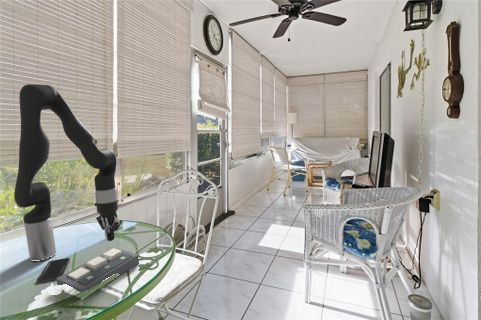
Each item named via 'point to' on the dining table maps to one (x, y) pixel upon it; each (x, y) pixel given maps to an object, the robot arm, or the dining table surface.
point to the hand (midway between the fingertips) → (111, 240)
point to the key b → (96, 263)
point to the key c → (112, 254)
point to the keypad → (101, 271)
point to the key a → (78, 274)
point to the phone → (53, 270)
